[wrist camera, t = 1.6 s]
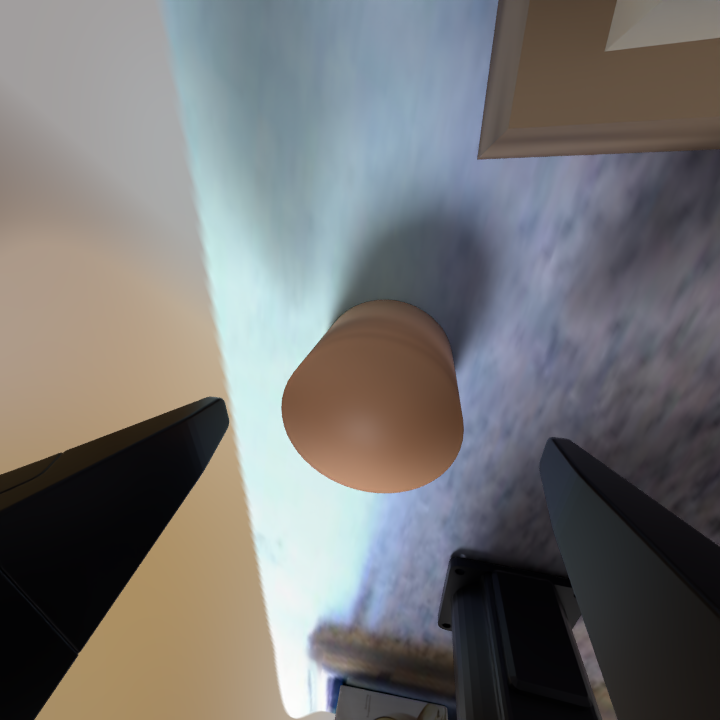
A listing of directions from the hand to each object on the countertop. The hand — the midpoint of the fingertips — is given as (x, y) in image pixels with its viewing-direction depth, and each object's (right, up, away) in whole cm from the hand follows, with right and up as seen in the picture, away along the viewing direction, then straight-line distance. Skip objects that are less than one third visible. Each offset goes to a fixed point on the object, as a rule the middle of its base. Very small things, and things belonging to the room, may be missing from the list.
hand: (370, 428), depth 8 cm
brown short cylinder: (+1, +2, +3) cm, 4 cm away
